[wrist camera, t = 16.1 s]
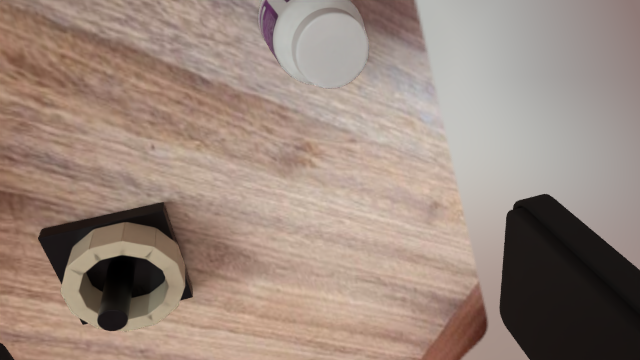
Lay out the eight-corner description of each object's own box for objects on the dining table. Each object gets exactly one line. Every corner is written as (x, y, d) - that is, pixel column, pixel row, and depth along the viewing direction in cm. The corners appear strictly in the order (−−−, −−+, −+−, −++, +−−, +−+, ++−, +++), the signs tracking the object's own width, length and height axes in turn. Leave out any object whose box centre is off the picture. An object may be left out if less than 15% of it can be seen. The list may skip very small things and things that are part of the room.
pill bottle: (307, 69, 36) (344, 119, 27) (242, 30, 33) (262, 72, 25) (349, 2, 34) (401, 34, 26) (284, -44, 32) (320, -24, 23)
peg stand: (163, 201, 38) (160, 254, 32) (192, 288, 43) (194, 347, 37) (41, 229, 37) (15, 289, 31) (85, 314, 41) (69, 380, 36)
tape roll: (167, 211, 37) (166, 230, 35) (194, 293, 41) (195, 314, 39) (51, 238, 36) (42, 259, 34) (92, 319, 40) (86, 342, 38)
